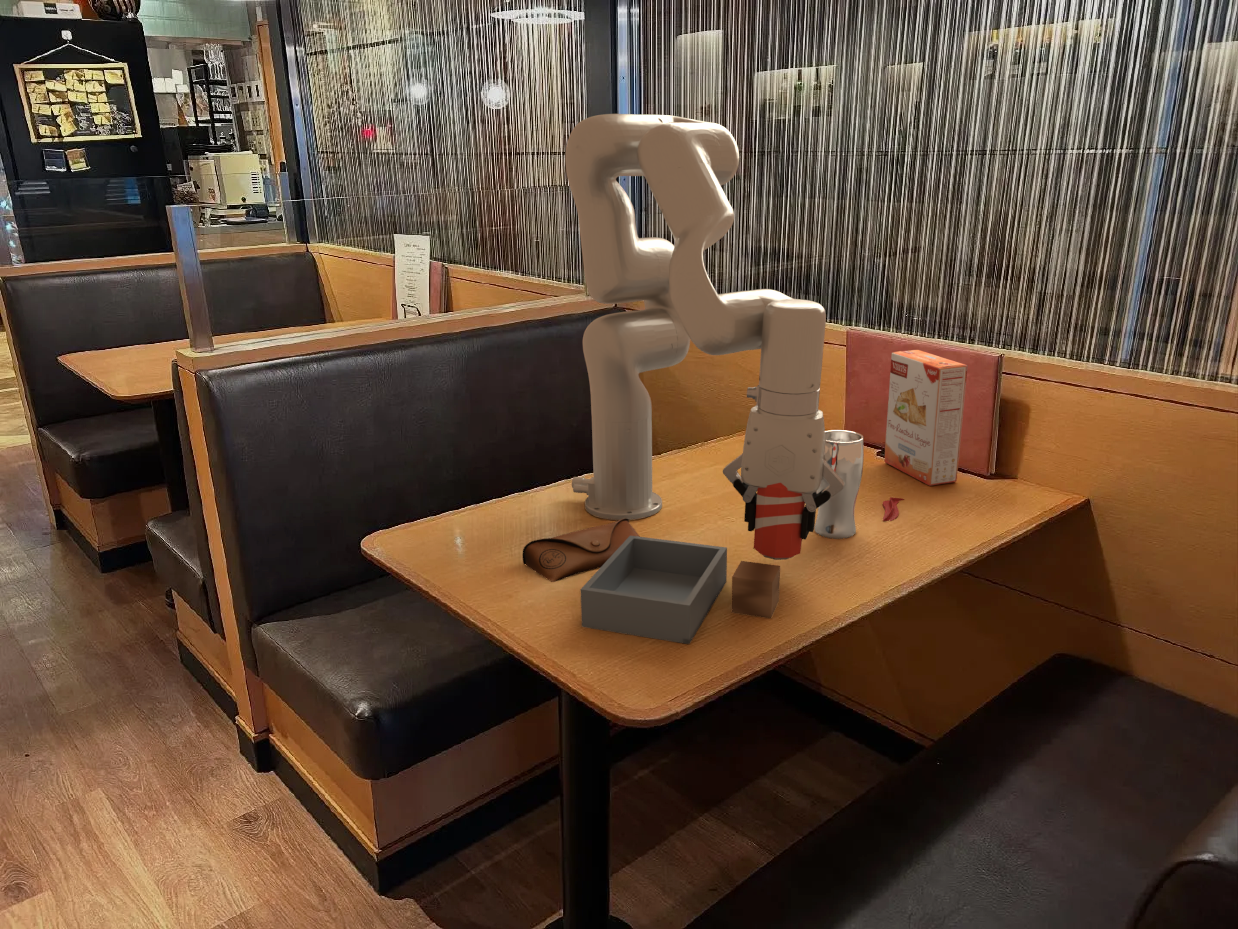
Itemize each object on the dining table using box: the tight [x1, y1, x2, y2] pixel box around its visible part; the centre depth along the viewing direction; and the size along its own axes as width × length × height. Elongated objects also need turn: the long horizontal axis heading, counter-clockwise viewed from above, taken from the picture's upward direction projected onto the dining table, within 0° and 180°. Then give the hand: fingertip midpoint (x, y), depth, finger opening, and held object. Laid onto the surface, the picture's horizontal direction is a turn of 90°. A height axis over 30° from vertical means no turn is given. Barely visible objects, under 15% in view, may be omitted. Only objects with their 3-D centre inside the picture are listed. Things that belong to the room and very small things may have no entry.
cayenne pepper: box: [882, 496, 905, 522], centre depth 147 cm, size 12×5×2 cm, turn 139°
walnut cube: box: [730, 560, 781, 619], centre depth 115 cm, size 5×5×5 cm
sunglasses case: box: [521, 518, 641, 583], centre depth 132 cm, size 18×7×7 cm
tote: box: [579, 536, 728, 645], centre depth 117 cm, size 14×18×5 cm
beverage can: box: [753, 483, 806, 561], centre depth 120 cm, size 6×6×12 cm
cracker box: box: [883, 349, 968, 487], centre depth 161 cm, size 14×6×21 cm, turn 17°
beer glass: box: [814, 429, 864, 540], centre depth 137 cm, size 7×7×15 cm
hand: (778, 530), depth 121 cm, fingers closed on beverage can, 6 cm apart
